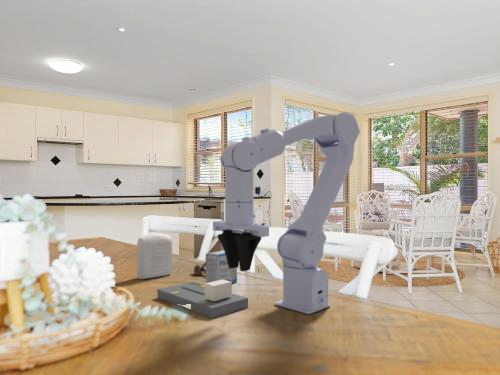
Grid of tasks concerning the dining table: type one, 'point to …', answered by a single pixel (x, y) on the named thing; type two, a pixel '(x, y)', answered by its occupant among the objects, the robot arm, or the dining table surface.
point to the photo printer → (154, 256)
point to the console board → (201, 299)
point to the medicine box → (219, 268)
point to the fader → (218, 290)
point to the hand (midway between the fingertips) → (239, 269)
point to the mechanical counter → (199, 269)
